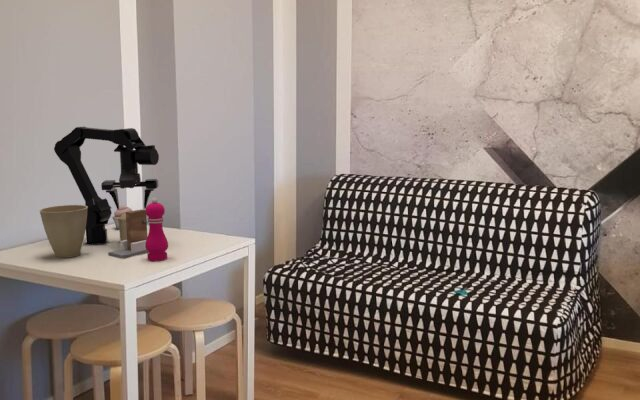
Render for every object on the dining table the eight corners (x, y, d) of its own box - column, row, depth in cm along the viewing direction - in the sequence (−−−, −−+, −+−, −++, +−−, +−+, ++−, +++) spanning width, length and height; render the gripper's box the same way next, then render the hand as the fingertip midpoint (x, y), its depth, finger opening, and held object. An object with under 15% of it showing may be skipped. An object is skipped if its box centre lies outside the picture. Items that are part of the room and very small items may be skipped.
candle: (139, 240, 251) (137, 213, 249) (129, 243, 246) (127, 215, 244) (127, 239, 253) (125, 212, 251) (117, 242, 248) (115, 214, 246)
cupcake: (141, 227, 275) (140, 202, 273) (124, 231, 267) (123, 206, 265) (125, 225, 280) (123, 201, 278) (107, 229, 272) (106, 204, 270)
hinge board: (108, 255, 228) (107, 243, 227) (151, 245, 242) (151, 234, 241) (123, 258, 223) (122, 246, 222) (166, 248, 237) (166, 237, 236)
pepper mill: (157, 262, 217) (154, 200, 214) (141, 259, 221) (137, 198, 218) (173, 257, 223) (170, 197, 220) (157, 255, 227) (154, 195, 224)
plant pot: (93, 249, 237) (90, 203, 235) (87, 259, 223) (83, 211, 220) (48, 251, 235) (45, 205, 232) (38, 261, 220) (34, 213, 218)
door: (127, 250, 230) (125, 212, 228) (143, 246, 236) (141, 209, 234) (134, 251, 228) (132, 213, 226) (149, 247, 233) (147, 210, 231)
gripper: (96, 167, 229) (99, 213, 232) (153, 166, 231) (156, 211, 234) (103, 164, 240) (106, 208, 243) (157, 163, 242) (159, 206, 245)
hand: (131, 208), depth 241 cm, fingers open, 9 cm apart
